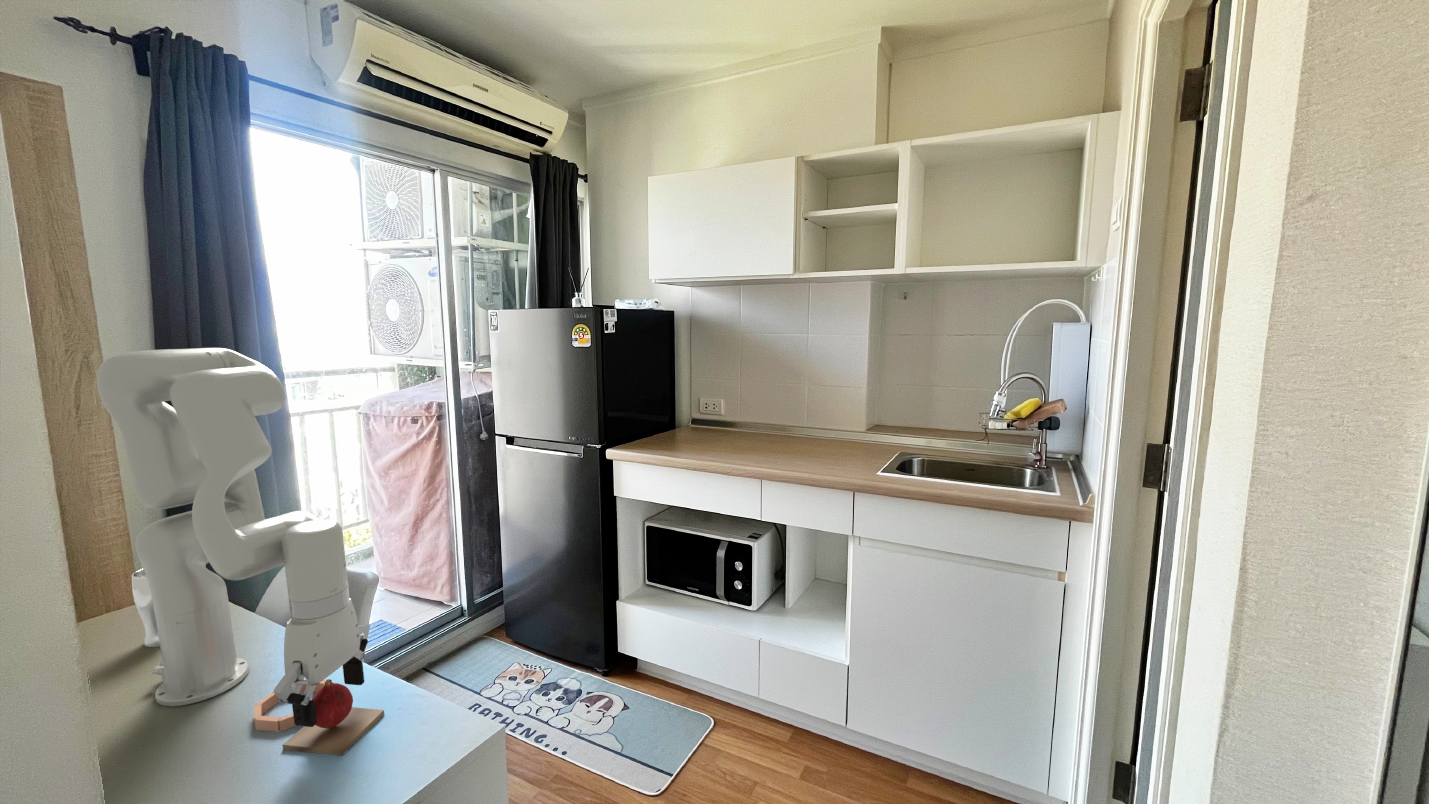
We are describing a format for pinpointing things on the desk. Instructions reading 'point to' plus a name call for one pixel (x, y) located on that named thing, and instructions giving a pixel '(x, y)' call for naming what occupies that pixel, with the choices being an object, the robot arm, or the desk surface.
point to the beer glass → (145, 607)
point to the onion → (332, 704)
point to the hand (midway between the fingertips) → (331, 703)
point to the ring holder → (276, 722)
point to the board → (335, 733)
